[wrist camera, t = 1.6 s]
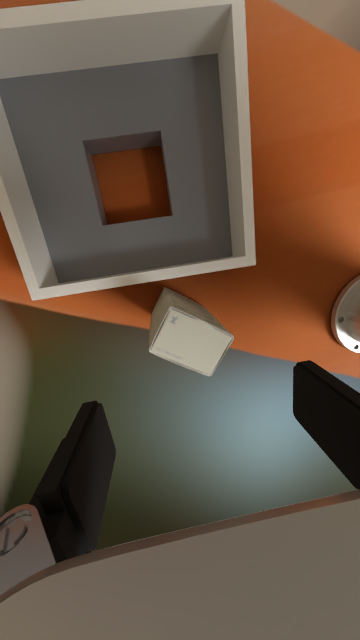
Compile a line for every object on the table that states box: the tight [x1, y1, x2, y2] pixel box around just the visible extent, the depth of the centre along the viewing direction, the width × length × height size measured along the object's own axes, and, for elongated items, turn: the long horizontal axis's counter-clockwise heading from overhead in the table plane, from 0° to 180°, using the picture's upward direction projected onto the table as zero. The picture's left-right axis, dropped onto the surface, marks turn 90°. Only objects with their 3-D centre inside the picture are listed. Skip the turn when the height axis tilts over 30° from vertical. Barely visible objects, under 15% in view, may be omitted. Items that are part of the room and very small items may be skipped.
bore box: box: [0, 0, 256, 301], centre depth 21 cm, size 22×20×7 cm
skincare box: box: [149, 287, 234, 376], centre depth 23 cm, size 6×4×12 cm
